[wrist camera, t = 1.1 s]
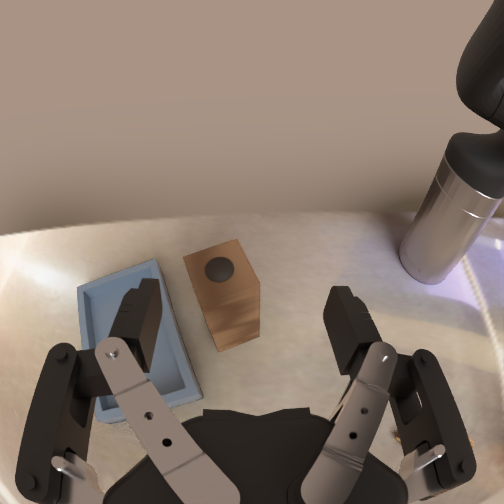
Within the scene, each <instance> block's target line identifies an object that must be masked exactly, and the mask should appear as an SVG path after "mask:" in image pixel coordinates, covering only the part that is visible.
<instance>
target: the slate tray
mask: <svg viewBox="0 0 504 504" xmlns="http://www.w3.org/2000/svg"><path fill="white" fill-rule="evenodd" d="M142 278H154V279H159V283H160V290H161V297H162V305H163V311H162V318H161V322H160V327H159V331H158V335H157V340H156V345H155V349H154V354H153V359H152V364H151V369H150V373H144V375H145V376H146V378H147V379H149V380H150V381H151V382H152V383H153V385H154V386H155V388H156V389H157V391H158V392H159V394H160V395H161V397H162V398H163V400H164V401H165V403H166V404H167V405H168V407H169V408H170V409H171V408H174V407H177V406H181V405H184V404H187V403H190V402H193V401H196V400H199V399H202V398H204V397H203V395H202V392H201V389H200V387H199V384H198V382H197V379H196V376H195V374H194V371H193V368H192V365H191V363H190V360H189V357H188V354H187V351H186V348H185V345H184V342H183V339H182V336H181V333H180V330H179V327H178V324H177V321H176V318H175V315H174V311H173V308H172V305H171V301H170V298H169V295H168V291H167V288H166V284H165V280H164V277H163V273H162V270H161V268H160V266H159V264H158V262H157V260H156V258H155V259H152V260H150V261H147V262H144V263H141V264H138V265H136V266H133V267H130V268H127V269H124V270H122V271H119V272H116V273H114V274H111V275H108V276H105V277H103V278H100V279H97V280H95V281H92V282H89V283H87V284H84V285H81V286H79V287H77V298H78V312H79V323H80V333H81V341H82V348H83V350H87V349H93V348H96V346H97V345H98V343H99V342H100V341H102V340H103V339H105V338H108V335H109V332H110V330H111V327H112V324H113V322H114V319H115V317H116V314H117V312H118V309H119V306H120V305H121V301H122V299H123V296H124V295H125V294H126V293H127V292H128V291H129V290H130V289H131V288H137V289H138V287H139V284H140V282H141V279H142ZM94 411H95V415H96V419H97V421H98V422H103V423H107V424H112V423H117V422H121V421H125V420H126V418H125V416H124V414H123V413H122V411H121V409H120V407H119V405H118V403H117V401H116V399H115V397H114V395H108V396H100V397H97V398H96V403H95V408H94Z"/></svg>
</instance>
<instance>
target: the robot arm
mask: <svg viewBox="0 0 504 504" xmlns="http://www.w3.org/2000/svg"><path fill="white" fill-rule="evenodd" d="M456 86H457V91H458V95H459V97H460V99H461V101H462V102H463V103H464V104H465V105H466V106H467V107H468V108H469V109H471V110H472V111H473V112H474V113H476V114H477V115H479V116H481V117H482V118H484V119H486V120H488V121H489V122H491V123H493V124H494V125H496V126H498V127H499V128H501V129H500V130H499V131H498V132H496V133H492V134H473V133H464V132H462V133H456V134H454V135H453V136H452V137H451V139H450V141H449V143H448V145H447V148H446V150H445V153H444V155H443V158H442V160H441V162H440V165H439V167H438V170H437V172H436V174H435V177H434V179H433V181H432V183H431V185H430V188H429V190H428V192H427V194H426V196H425V198H424V200H423V202H422V204H421V206H420V208H419V210H418V212H417V214H416V216H415V218H414V220H413V222H412V224H411V226H410V227H409V229H408V231H407V233H406V235H405V237H404V239H403V240H402V242H401V244H400V247H399V256H400V260H401V262H402V264H403V266H404V268H405V269H406V270H407V272H408V273H409V274H410V275H411V276H413V277H414V278H415V279H417V280H418V281H420V282H423V283H425V284H438V283H440V282H442V281H443V280H444V279H445V278H446V277H447V275H448V274H449V273H450V272H451V271H452V269H453V268H454V267H455V266H456V265H457V263H458V262H459V261H460V260H461V258H462V257H463V256H464V255H465V253H466V252H467V251H468V249H469V248H470V247H471V245H472V244H473V243H474V241H475V240H476V239H477V237H478V236H479V234H480V233H481V232H482V230H483V229H484V227H485V226H486V224H487V223H488V221H489V220H490V218H491V217H492V215H493V214H494V212H495V210H496V209H497V207H498V206H499V204H500V202H501V201H502V199H503V198H504V0H494V2H493V4H492V6H491V7H490V9H489V11H488V12H487V14H486V15H485V17H484V19H483V20H482V22H481V23H480V25H479V26H478V28H477V30H476V31H475V32H474V34H473V36H472V37H471V39H470V41H469V42H468V44H467V46H466V48H465V50H464V52H463V54H462V56H461V59H460V62H459V66H458V69H457V76H456ZM162 311H163V305H162V297H161V290H160V283H159V279H154V278H142V279H141V282H140V284H139V287H138V289H137V288H131V289H130V290H129V291H128V292H127V293H126V294H125V295H124V296H123V299H122V301H121V305H120V306H119V309H118V312H117V314H116V317H115V319H114V322H113V324H112V327H111V330H110V332H109V335H108V338H105V339H103V340H102V341H100V342H99V343H98V345H97V346H96V348H93V349H87V350H80V351H76V349H75V348H74V347H73V346H72V345H71V344H69V343H60V344H57V345H55V346H54V347H52V348H51V349H50V351H49V353H48V355H47V358H46V360H45V363H44V366H43V369H42V371H41V374H40V377H39V380H38V383H37V386H36V389H35V392H34V396H33V399H32V402H31V406H30V409H29V413H28V416H27V420H26V424H25V428H24V432H23V437H22V441H21V446H20V451H19V456H18V461H17V467H16V474H15V482H16V486H17V488H18V490H19V492H20V493H21V494H22V495H23V496H24V497H25V498H26V499H28V500H30V501H33V502H35V503H38V504H409V503H412V502H414V501H417V500H421V501H424V500H427V499H430V498H432V497H435V496H437V495H440V494H442V493H444V492H447V491H449V490H451V489H453V488H455V487H458V486H460V485H462V484H464V483H466V482H468V481H469V480H471V479H472V478H473V476H474V474H475V472H476V460H475V457H474V454H473V450H472V447H471V444H470V441H469V438H468V435H467V432H466V429H465V426H464V423H463V421H462V418H461V415H460V413H459V410H458V407H457V405H456V402H455V400H454V397H453V395H452V393H451V390H450V388H449V385H448V383H447V381H446V378H445V376H444V374H443V372H442V369H441V367H440V365H439V363H438V361H437V359H436V357H435V356H434V355H433V354H432V353H431V352H430V351H428V350H425V349H419V350H417V351H416V352H415V353H414V354H413V355H412V356H408V355H403V354H398V353H397V352H396V350H395V349H394V348H393V347H392V346H391V345H390V344H388V343H386V342H383V341H382V339H381V337H380V334H379V332H378V330H377V328H376V326H375V324H374V322H373V320H372V319H371V316H370V314H369V313H368V312H369V311H368V309H367V307H366V305H365V304H364V303H363V302H362V301H361V300H360V299H359V298H358V297H354V296H353V294H352V292H351V290H350V288H349V287H348V286H333V287H332V288H331V290H330V293H329V296H328V299H327V302H326V305H325V308H324V312H323V319H324V324H325V327H326V330H327V333H328V336H329V339H330V342H331V345H332V348H333V352H334V355H335V358H336V361H337V365H338V368H339V371H340V374H341V375H350V378H351V379H350V380H349V382H348V384H347V386H346V388H345V390H344V392H343V394H342V396H341V398H340V400H339V402H338V404H337V406H336V407H335V409H334V411H333V413H332V414H331V416H330V417H329V419H328V420H327V419H325V418H323V417H320V416H317V415H313V414H310V409H309V407H307V408H295V409H283V410H280V411H276V412H273V413H269V414H265V415H261V416H254V415H249V414H244V413H240V412H236V411H231V410H209V409H203V416H198V417H195V418H191V419H189V420H187V421H185V422H183V423H180V422H179V421H178V419H177V418H176V417H175V415H174V414H173V412H172V411H171V410H170V408H169V407H168V405H167V404H166V403H165V401H164V400H163V398H162V397H161V395H160V394H159V392H158V391H157V389H156V388H155V386H154V385H153V383H152V382H151V381H150V380H149V379H147V378H146V376H145V375H144V373H150V369H151V364H152V359H153V354H154V349H155V345H156V340H157V335H158V331H159V327H160V322H161V318H162ZM416 392H418V395H419V398H420V400H421V403H422V407H421V404H420V401H419V398H418V396H417V393H416ZM108 395H114V397H115V399H116V401H117V403H118V405H119V407H120V409H121V411H122V413H123V414H124V416H125V418H126V420H127V421H128V423H129V425H130V427H131V428H132V430H133V432H134V433H135V435H136V437H137V438H138V440H139V441H140V443H141V445H142V446H143V448H144V449H145V451H146V452H147V455H146V456H145V457H144V458H143V459H142V460H141V461H140V462H139V463H137V464H136V465H135V466H134V467H133V468H132V469H131V470H130V471H129V472H127V473H126V474H125V475H124V476H123V477H122V478H121V479H120V480H118V481H117V482H116V483H115V484H114V485H113V486H111V487H110V488H109V490H108V491H107V492H106V494H104V493H103V492H102V491H101V489H100V487H99V485H98V480H97V474H96V472H95V470H94V468H93V467H92V466H91V465H90V464H88V463H87V462H86V460H87V452H88V445H89V438H90V431H91V425H92V419H93V414H94V408H95V403H96V398H97V397H100V396H108ZM388 400H389V401H390V405H391V408H392V411H393V415H394V418H395V422H396V426H397V429H398V433H399V437H400V441H401V445H402V449H403V453H404V458H403V459H402V461H401V465H400V469H399V474H397V473H396V472H395V471H393V470H392V469H391V468H389V467H388V466H387V465H385V464H384V463H383V462H381V461H380V460H379V459H377V458H376V457H375V456H374V455H372V454H371V453H370V452H368V451H369V448H370V446H371V444H372V442H373V439H374V437H375V434H376V432H377V429H378V427H379V424H380V422H381V419H382V417H383V414H384V411H385V408H386V406H387V403H388Z"/></svg>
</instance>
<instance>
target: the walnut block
mask: <svg viewBox="0 0 504 504" xmlns="http://www.w3.org/2000/svg"><path fill="white" fill-rule="evenodd" d="M183 259H184V262H185V265H186V268H187V271H188V273H189V276H190V279H191V282H192V285H193V288H194V290H195V293H196V296H197V299H198V302H199V304H200V307H201V309H202V312H203V315H204V317H205V320H206V322H207V324H208V327H209V329H210V332H211V334H212V337H213V339H214V342H215V344H216V346H217V349H218V351H219V352H221V351H223V350H226V349H229V348H231V347H234V346H237V345H239V344H242V343H244V342H247V341H249V340H252V339H254V338H257V337H259V334H260V282H259V280H258V278H257V276H256V274H255V273H254V271H253V269H252V267H251V265H250V263H249V261H248V259H247V257H246V255H245V253H244V251H243V249H242V247H241V246H240V244H239V242H238V240H237V239H234V240H231V241H228V242H225V243H222V244H219V245H216V246H214V247H211V248H208V249H205V250H202V251H199V252H196V253H193V254H190V255H187V256H185V257H183Z"/></svg>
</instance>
